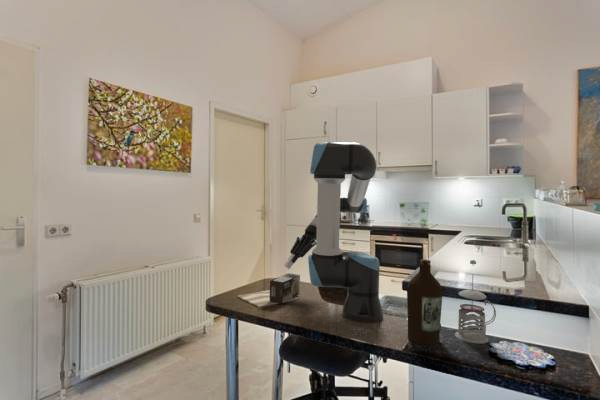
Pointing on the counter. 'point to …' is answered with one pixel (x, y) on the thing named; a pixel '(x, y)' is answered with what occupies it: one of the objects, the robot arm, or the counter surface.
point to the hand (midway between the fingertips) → (286, 267)
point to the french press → (473, 317)
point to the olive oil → (424, 306)
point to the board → (260, 298)
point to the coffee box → (284, 288)
